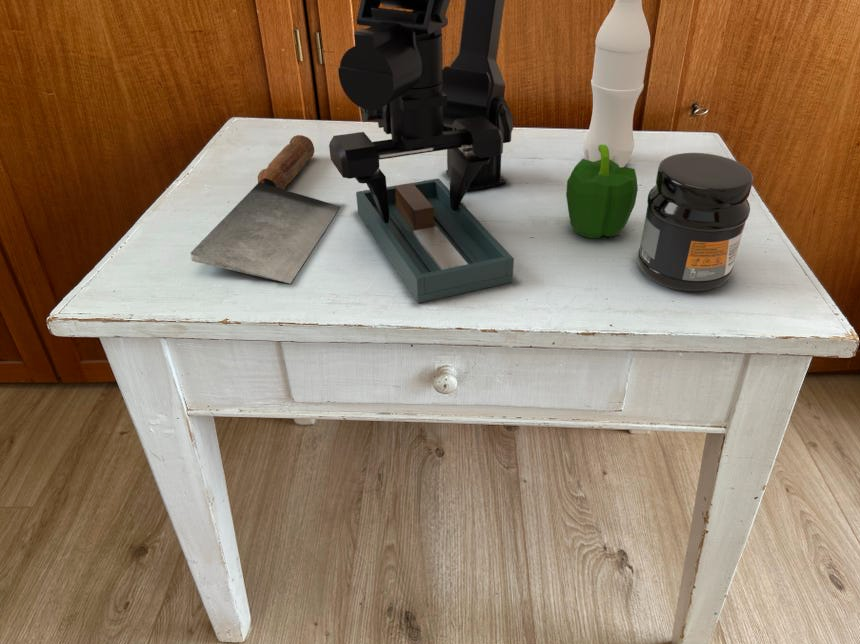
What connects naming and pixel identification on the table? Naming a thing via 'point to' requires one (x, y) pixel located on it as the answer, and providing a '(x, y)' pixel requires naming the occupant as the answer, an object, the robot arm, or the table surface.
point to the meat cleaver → (270, 223)
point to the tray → (461, 230)
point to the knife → (426, 226)
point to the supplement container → (694, 221)
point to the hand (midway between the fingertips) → (420, 215)
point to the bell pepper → (600, 196)
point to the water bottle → (617, 81)
